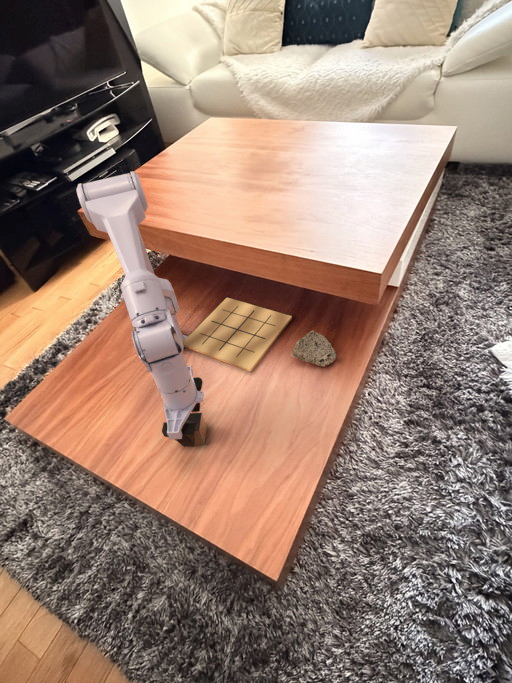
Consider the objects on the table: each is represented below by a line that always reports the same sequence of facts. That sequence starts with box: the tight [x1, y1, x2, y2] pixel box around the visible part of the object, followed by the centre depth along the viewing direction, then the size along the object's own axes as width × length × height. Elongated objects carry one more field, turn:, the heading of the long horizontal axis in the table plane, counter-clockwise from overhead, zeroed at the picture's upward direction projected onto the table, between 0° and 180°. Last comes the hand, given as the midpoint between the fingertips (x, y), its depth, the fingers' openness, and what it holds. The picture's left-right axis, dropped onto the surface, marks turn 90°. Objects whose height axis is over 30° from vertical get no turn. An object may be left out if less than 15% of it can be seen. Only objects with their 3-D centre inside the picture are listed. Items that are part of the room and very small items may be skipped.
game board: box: [183, 297, 293, 373], centre depth 96 cm, size 20×20×1 cm
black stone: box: [186, 412, 208, 447], centre depth 74 cm, size 4×4×5 cm
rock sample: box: [291, 330, 337, 368], centre depth 86 cm, size 10×8×9 cm
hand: (192, 427), depth 73 cm, fingers open, 7 cm apart
